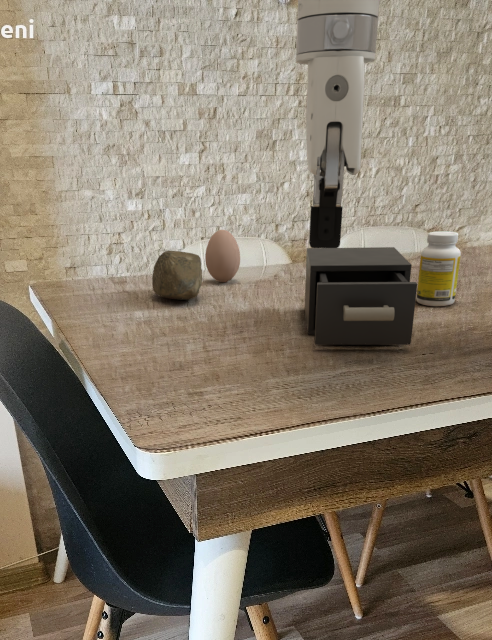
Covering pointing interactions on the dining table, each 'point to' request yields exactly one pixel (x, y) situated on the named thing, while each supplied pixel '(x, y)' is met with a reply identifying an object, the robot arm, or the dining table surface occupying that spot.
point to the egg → (222, 256)
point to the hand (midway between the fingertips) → (324, 246)
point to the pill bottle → (439, 269)
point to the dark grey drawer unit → (347, 269)
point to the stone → (177, 275)
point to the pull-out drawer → (364, 308)
